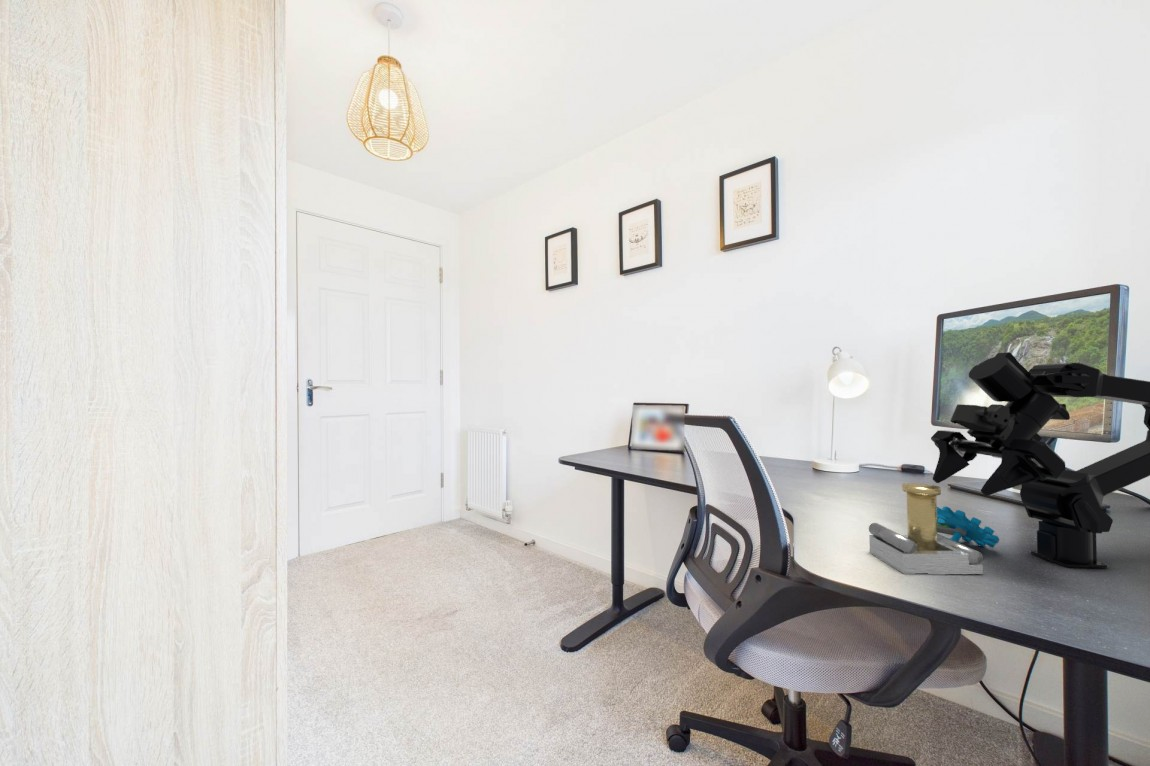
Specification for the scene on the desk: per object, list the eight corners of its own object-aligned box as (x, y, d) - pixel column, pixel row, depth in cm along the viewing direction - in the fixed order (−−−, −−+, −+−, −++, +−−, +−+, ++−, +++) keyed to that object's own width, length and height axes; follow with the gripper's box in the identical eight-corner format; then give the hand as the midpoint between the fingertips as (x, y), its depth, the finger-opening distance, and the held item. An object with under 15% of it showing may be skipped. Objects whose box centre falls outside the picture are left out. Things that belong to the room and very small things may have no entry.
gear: (1015, 546, 78) (973, 507, 78) (998, 573, 77) (955, 532, 77) (955, 535, 89) (918, 500, 89) (939, 558, 88) (902, 522, 88)
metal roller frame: (940, 553, 79) (939, 523, 79) (983, 575, 70) (982, 540, 70) (869, 552, 80) (868, 522, 80) (903, 573, 71) (902, 539, 71)
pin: (936, 560, 77) (934, 484, 77) (947, 571, 72) (945, 490, 72) (900, 555, 79) (898, 482, 79) (908, 566, 74) (907, 487, 74)
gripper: (939, 387, 85) (884, 446, 85) (1045, 387, 67) (975, 463, 66) (980, 428, 85) (925, 487, 85) (1097, 439, 67) (1028, 515, 66)
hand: (957, 487), depth 75 cm, fingers open, 9 cm apart
